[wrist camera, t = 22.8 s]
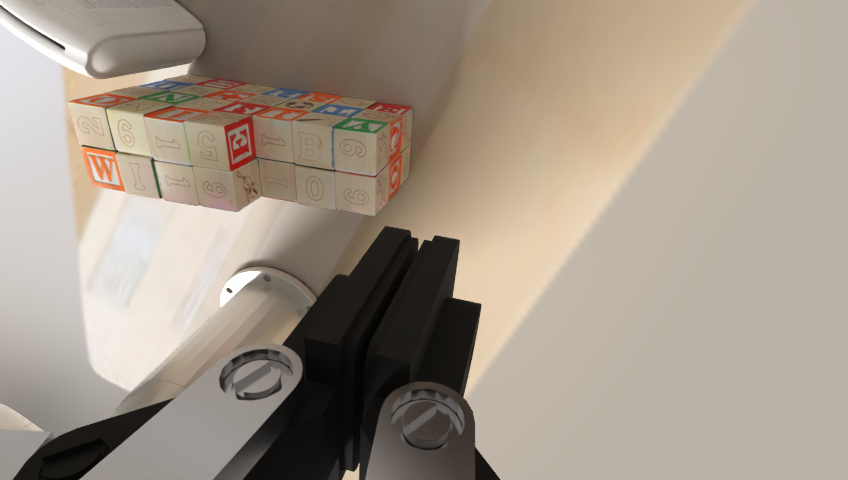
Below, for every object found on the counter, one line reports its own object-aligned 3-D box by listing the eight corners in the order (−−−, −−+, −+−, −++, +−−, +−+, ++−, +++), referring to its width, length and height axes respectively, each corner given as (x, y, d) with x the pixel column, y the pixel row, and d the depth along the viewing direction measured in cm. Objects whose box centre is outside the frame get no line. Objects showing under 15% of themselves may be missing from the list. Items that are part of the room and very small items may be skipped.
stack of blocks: (415, 104, 38) (361, 147, 28) (410, 176, 41) (360, 239, 31) (186, 73, 42) (62, 100, 32) (197, 141, 45) (87, 186, 35)
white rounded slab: (99, -4, 41) (-63, -3, 30) (109, -53, 38) (-62, -70, 28) (199, 69, 41) (76, 96, 31) (214, 26, 39) (88, 38, 29)
